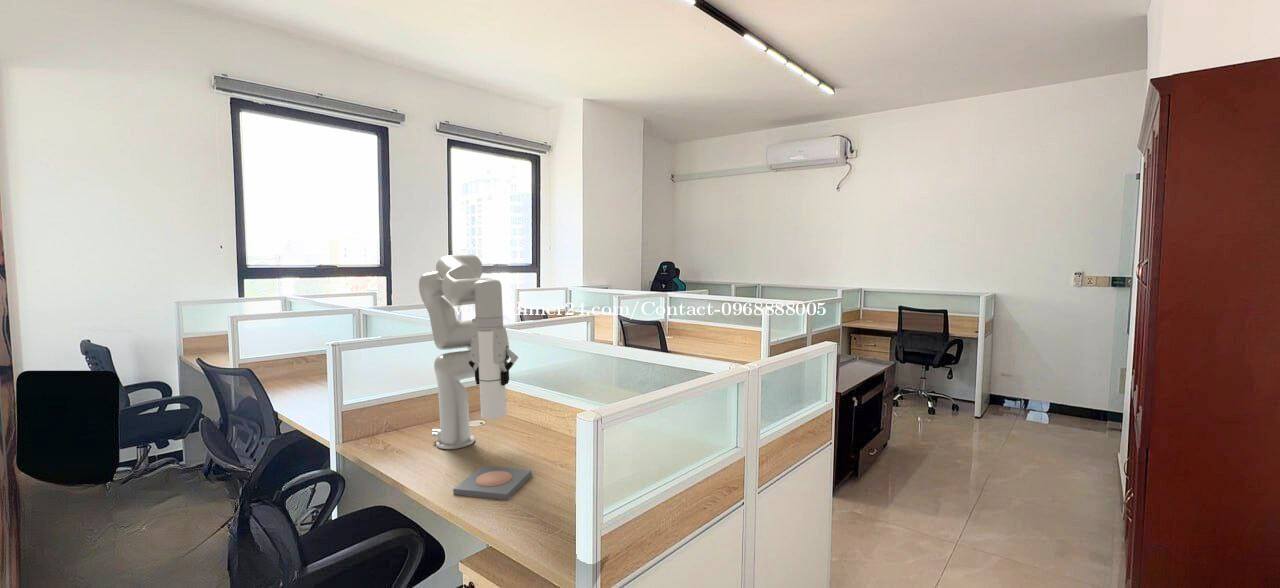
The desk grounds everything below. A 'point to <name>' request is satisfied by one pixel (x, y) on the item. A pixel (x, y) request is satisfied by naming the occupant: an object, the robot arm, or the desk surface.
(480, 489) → the board
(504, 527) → the desk surface
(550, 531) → the desk surface
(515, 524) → the desk surface
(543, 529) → the desk surface
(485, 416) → the cylindrical container
